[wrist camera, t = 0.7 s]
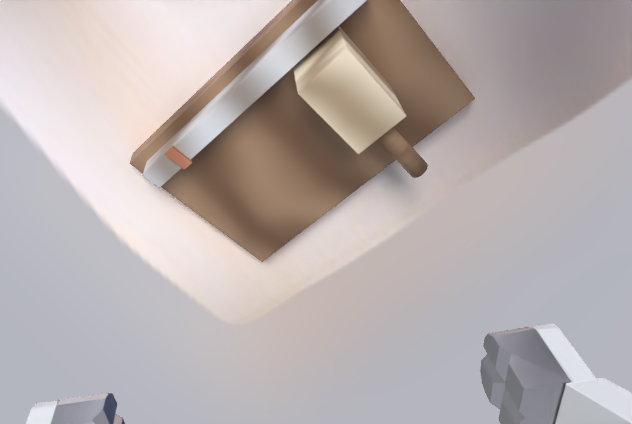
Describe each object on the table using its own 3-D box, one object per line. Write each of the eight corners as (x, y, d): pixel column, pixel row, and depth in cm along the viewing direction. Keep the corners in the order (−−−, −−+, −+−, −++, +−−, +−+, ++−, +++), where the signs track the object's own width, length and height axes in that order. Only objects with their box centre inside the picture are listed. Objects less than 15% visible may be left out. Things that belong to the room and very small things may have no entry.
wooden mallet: (336, 23, 36) (347, 49, 32) (428, 129, 42) (448, 163, 38) (292, 63, 38) (297, 93, 34) (387, 161, 43) (401, 197, 39)
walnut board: (354, -60, 35) (364, -47, 32) (468, 90, 42) (486, 112, 39) (133, 153, 42) (124, 180, 39) (261, 250, 49) (262, 279, 46)
